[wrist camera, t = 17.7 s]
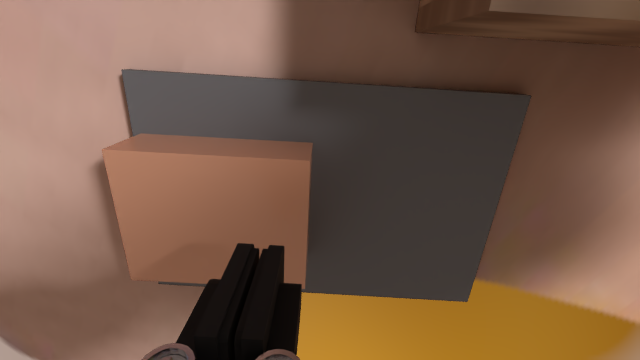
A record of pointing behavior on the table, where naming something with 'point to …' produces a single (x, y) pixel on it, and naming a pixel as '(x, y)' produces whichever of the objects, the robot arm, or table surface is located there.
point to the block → (208, 203)
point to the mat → (363, 169)
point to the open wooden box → (535, 20)
